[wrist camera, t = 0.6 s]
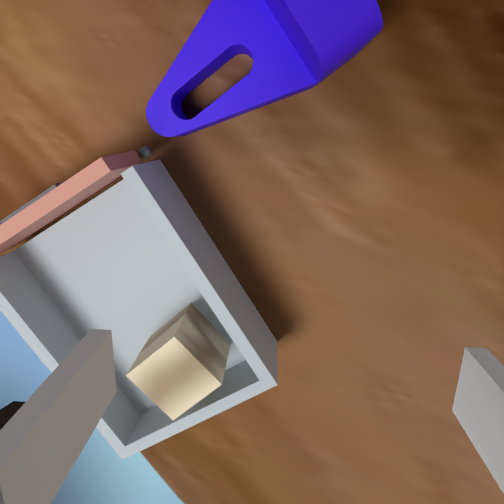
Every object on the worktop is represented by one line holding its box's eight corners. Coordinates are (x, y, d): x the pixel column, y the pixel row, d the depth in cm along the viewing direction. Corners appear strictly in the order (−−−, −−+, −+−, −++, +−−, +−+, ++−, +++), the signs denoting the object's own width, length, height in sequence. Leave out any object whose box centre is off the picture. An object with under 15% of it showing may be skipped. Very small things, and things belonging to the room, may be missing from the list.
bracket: (285, -58, 34) (290, -150, 23) (354, 55, 37) (389, 22, 25) (127, 78, 38) (65, 57, 27) (198, 174, 40) (168, 190, 29)
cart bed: (12, 237, 43) (-45, 260, 36) (153, 143, 40) (124, 147, 32) (144, 408, 49) (120, 460, 41) (279, 340, 45) (280, 383, 37)
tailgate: (-61, 258, 33) (-47, 275, 34) (96, 151, 30) (110, 171, 30) (1, 232, 41) (12, 247, 41) (132, 145, 38) (143, 161, 38)
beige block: (149, 336, 42) (125, 375, 36) (190, 302, 41) (174, 336, 34) (189, 375, 44) (173, 420, 37) (230, 344, 42) (221, 384, 35)
